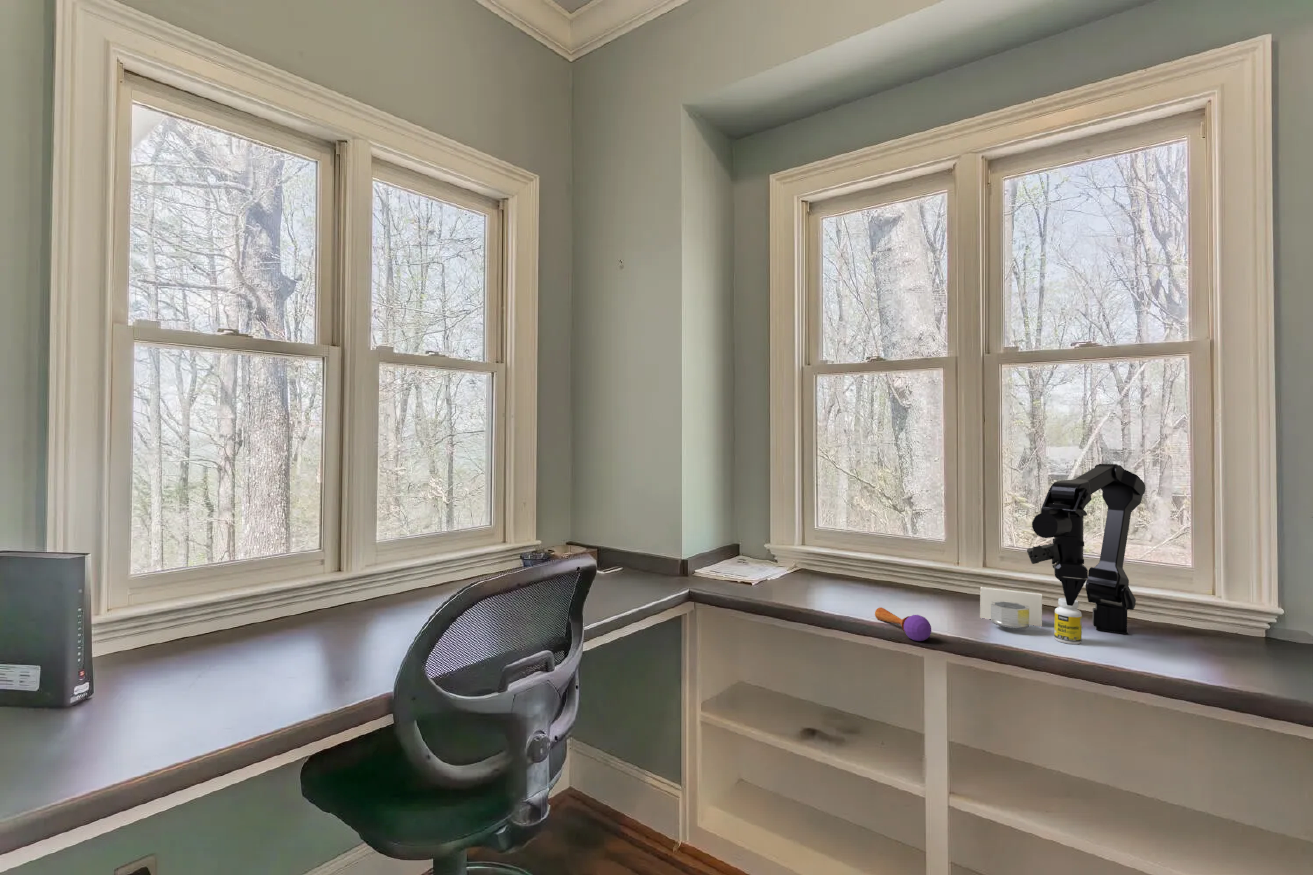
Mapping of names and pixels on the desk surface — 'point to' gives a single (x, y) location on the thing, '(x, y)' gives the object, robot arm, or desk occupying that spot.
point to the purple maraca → (907, 624)
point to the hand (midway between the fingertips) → (1068, 600)
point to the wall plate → (1011, 596)
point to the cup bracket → (1010, 614)
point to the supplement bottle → (1068, 623)
